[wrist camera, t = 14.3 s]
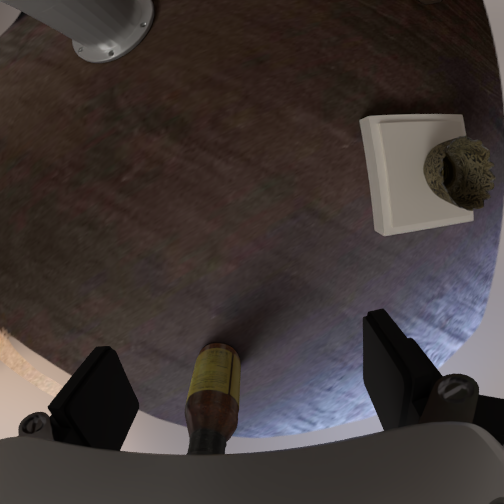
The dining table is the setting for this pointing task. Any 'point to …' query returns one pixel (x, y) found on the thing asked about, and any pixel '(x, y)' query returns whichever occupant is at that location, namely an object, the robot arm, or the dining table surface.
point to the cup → (460, 172)
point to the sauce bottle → (213, 400)
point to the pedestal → (407, 171)
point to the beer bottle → (429, 1)
